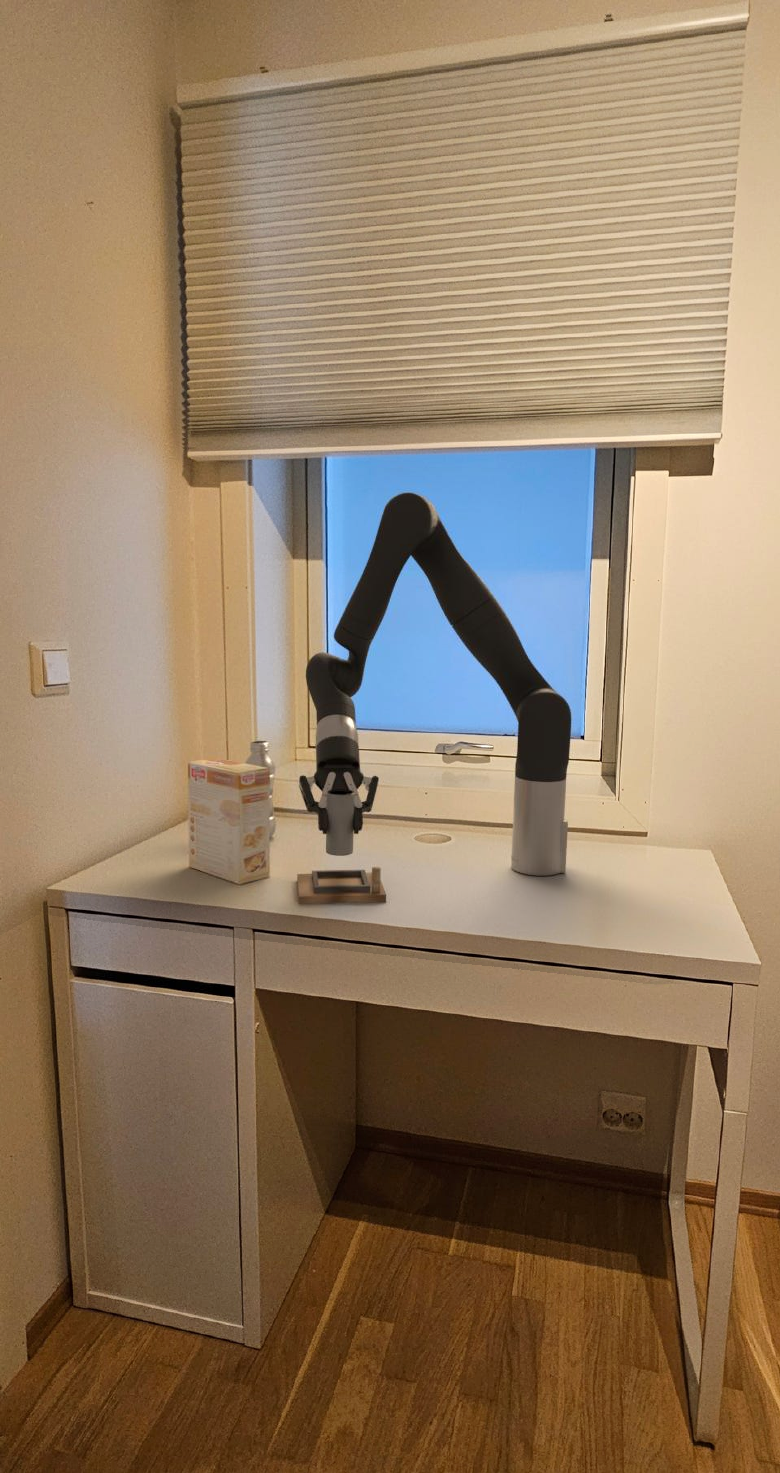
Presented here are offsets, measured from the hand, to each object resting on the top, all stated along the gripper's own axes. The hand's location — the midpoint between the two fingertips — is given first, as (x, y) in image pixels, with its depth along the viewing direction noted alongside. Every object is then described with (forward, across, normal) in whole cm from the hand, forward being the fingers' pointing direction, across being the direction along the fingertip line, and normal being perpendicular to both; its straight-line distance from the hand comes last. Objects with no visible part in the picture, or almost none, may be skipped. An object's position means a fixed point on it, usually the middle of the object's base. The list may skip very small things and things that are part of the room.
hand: (341, 831), depth 139 cm
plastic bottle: (-18, -14, +34) cm, 41 cm away
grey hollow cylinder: (+2, 0, +4) cm, 5 cm away
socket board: (+6, 0, +9) cm, 11 cm away
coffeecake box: (-2, -19, +18) cm, 26 cm away
